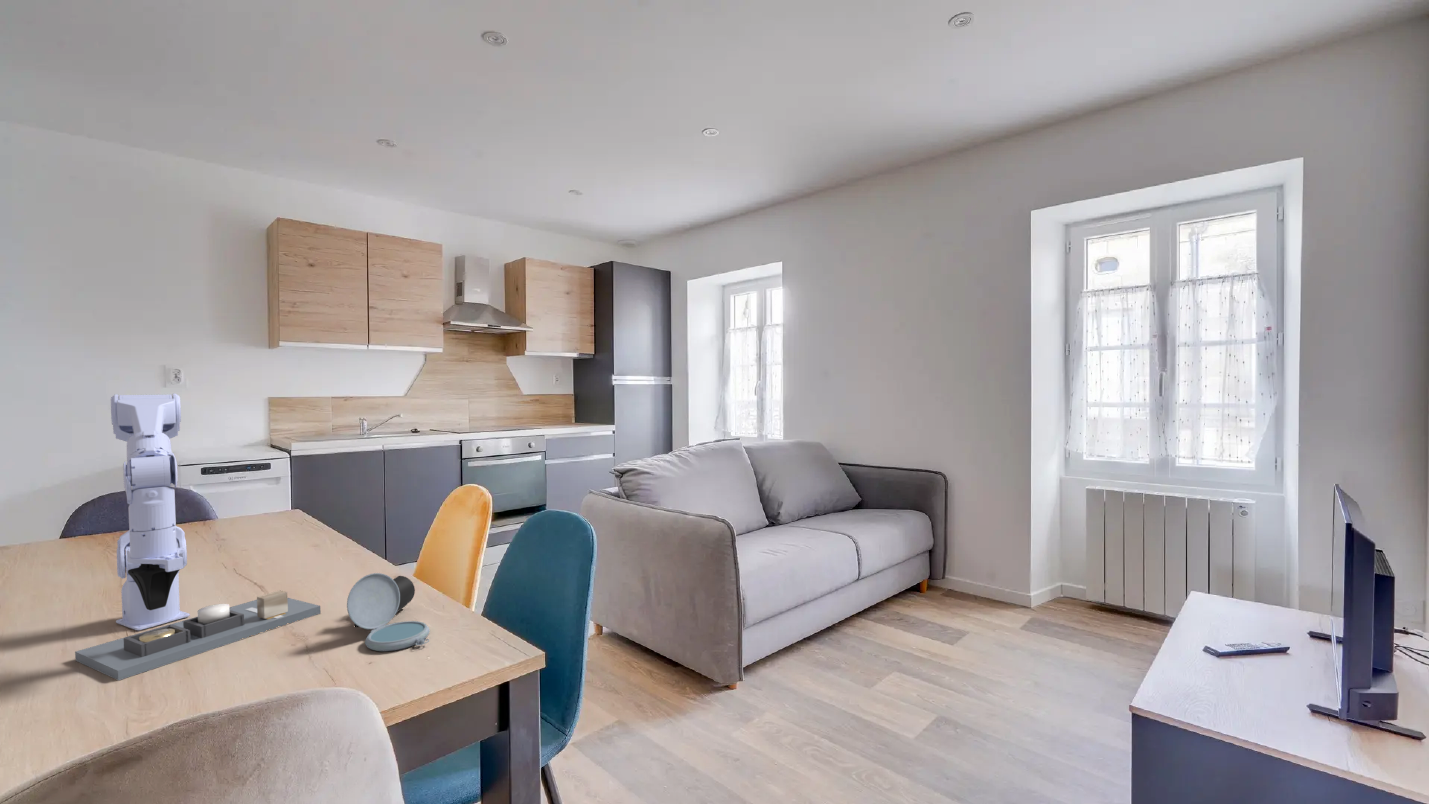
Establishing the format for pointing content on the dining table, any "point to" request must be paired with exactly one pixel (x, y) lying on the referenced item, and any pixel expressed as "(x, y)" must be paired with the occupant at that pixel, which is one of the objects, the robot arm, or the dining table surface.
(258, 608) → the frosted cream block
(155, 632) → the brass button
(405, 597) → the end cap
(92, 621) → the dining table surface
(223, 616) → the white button
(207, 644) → the panel
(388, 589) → the pocket watch
